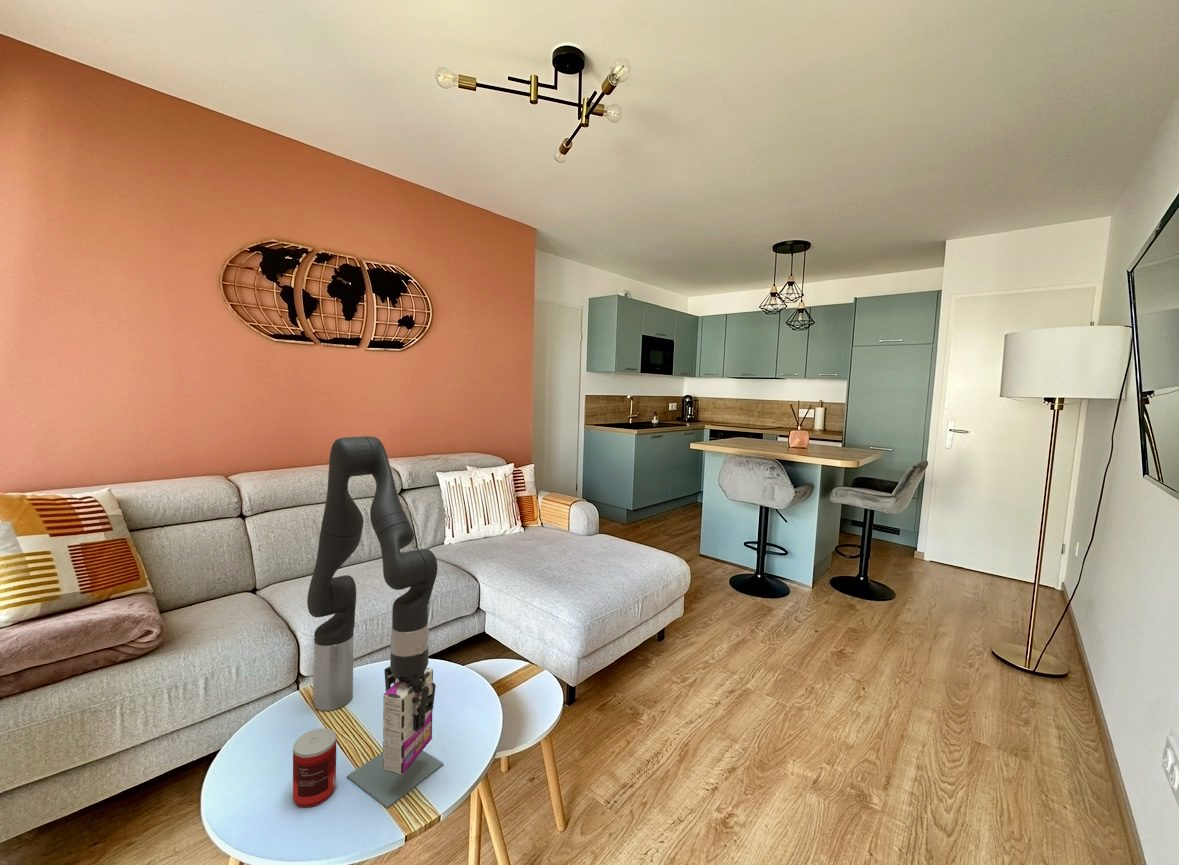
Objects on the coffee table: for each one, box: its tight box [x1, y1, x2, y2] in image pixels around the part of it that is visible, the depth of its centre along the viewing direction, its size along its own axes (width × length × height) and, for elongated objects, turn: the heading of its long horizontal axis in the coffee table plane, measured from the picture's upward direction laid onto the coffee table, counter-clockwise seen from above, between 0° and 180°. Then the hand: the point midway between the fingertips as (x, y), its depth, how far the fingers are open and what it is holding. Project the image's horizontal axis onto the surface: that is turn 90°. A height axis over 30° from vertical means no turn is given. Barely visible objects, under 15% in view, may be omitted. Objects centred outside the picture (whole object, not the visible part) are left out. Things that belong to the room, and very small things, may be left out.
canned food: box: [292, 727, 337, 808], centre depth 96 cm, size 8×8×11 cm
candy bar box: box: [382, 667, 434, 775], centre depth 100 cm, size 11×5×16 cm, turn 167°
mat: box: [346, 749, 444, 809], centre depth 103 cm, size 14×14×1 cm
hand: (408, 722), depth 100 cm, fingers closed on candy bar box, 6 cm apart
